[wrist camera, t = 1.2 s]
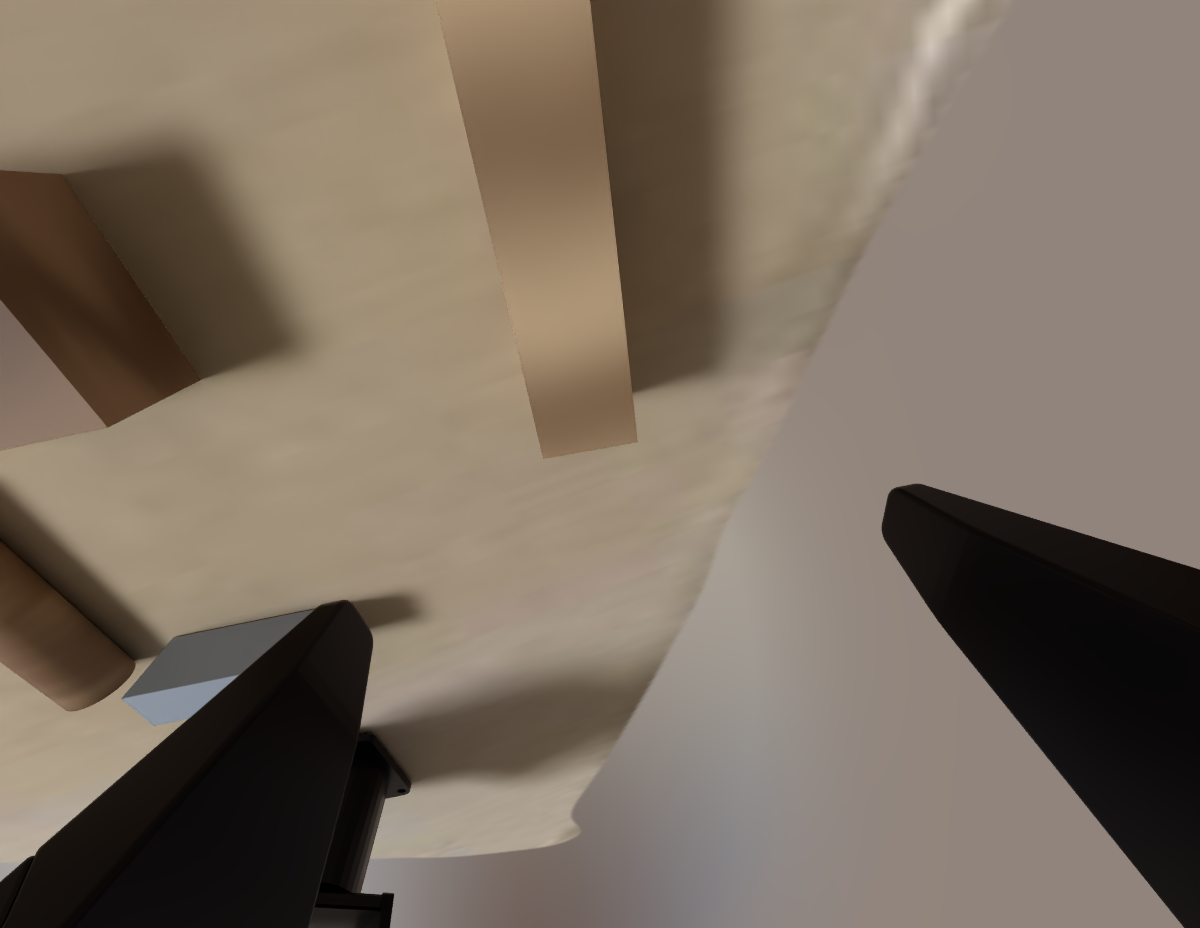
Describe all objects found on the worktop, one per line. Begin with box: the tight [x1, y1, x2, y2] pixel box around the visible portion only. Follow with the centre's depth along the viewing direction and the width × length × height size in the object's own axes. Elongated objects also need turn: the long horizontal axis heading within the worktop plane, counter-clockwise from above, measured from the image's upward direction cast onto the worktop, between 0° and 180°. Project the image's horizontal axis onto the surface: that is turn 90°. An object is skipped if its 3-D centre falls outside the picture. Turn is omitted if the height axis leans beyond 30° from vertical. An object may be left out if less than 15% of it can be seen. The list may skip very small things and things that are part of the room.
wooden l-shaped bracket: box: [435, 0, 638, 459], centre depth 11 cm, size 18×22×4 cm
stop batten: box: [122, 609, 315, 726], centre depth 20 cm, size 2×8×3 cm, turn 99°
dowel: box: [0, 541, 136, 711], centre depth 18 cm, size 10×2×2 cm, turn 9°
